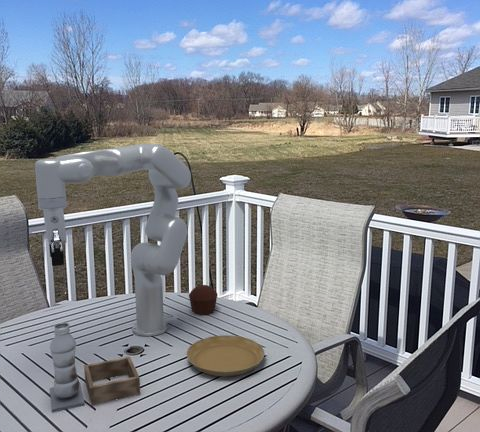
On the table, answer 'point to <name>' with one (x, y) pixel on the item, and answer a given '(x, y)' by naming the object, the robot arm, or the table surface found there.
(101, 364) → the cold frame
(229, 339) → the plant saucer
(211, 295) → the muffin
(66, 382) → the plastic bottle
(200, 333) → the table surface
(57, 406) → the slate tile
